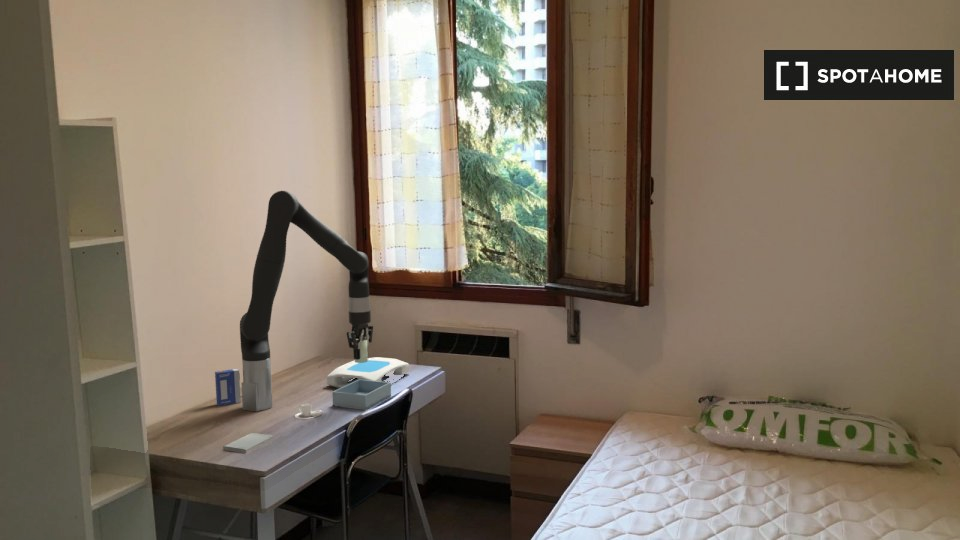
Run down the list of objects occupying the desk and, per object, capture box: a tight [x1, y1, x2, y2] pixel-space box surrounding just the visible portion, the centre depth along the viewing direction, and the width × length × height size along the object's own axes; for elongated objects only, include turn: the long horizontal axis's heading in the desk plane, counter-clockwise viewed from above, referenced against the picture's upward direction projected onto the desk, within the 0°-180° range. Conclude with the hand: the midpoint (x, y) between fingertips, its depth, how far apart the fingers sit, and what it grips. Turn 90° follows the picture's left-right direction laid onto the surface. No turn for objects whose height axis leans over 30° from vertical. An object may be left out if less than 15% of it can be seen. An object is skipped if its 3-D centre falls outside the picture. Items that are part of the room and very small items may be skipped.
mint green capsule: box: [354, 339, 369, 363], centre depth 257 cm, size 5×5×8 cm
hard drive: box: [222, 432, 274, 454], centre depth 217 cm, size 2×8×12 cm
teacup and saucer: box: [294, 402, 323, 420], centre depth 243 cm, size 9×8×4 cm
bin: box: [331, 378, 392, 411], centre depth 259 cm, size 17×13×5 cm
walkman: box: [214, 368, 242, 407], centre depth 257 cm, size 8×3×12 cm, turn 123°
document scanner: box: [326, 356, 410, 389], centre depth 285 cm, size 21×28×6 cm
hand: (361, 357), depth 257 cm, fingers closed on mint green capsule, 4 cm apart
